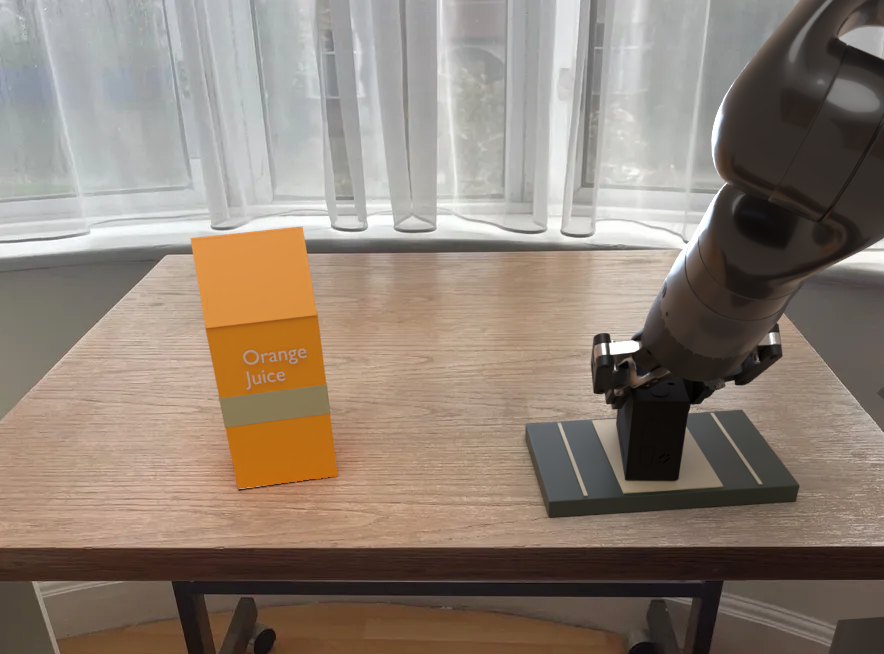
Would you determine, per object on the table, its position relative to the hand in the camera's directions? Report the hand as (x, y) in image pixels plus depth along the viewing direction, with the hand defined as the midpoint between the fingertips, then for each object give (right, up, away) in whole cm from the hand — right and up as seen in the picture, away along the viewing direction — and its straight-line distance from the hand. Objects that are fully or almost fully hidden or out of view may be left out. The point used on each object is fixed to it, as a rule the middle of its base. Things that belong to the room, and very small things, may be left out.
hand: (654, 395), depth 75 cm
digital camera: (0, -5, +1) cm, 5 cm away
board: (0, -6, +2) cm, 6 cm away
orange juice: (-32, -5, +6) cm, 33 cm away
